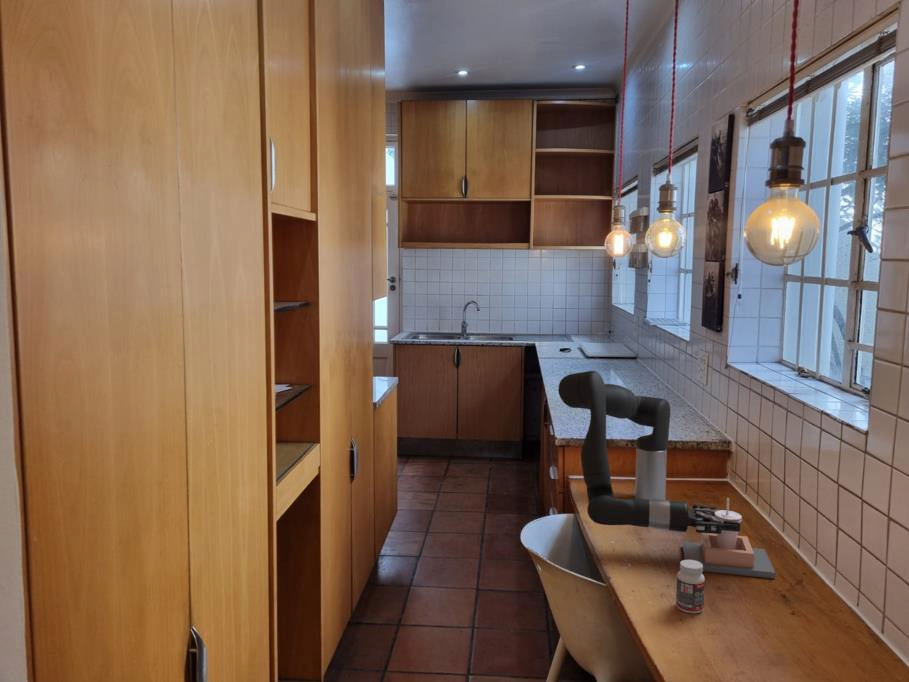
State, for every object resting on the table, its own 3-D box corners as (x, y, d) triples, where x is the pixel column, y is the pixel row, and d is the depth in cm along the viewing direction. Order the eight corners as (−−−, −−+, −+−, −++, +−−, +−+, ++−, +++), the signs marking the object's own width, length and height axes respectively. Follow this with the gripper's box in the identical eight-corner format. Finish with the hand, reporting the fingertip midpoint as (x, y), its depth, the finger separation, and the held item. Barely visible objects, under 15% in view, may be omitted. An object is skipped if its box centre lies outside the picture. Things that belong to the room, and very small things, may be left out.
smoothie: (708, 551, 170) (711, 497, 168) (718, 544, 174) (721, 491, 173) (734, 559, 165) (737, 504, 164) (743, 551, 170) (746, 497, 169)
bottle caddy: (682, 546, 179) (683, 528, 179) (764, 554, 174) (765, 536, 174) (686, 569, 166) (686, 549, 166) (774, 578, 161) (775, 558, 160)
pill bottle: (700, 617, 143) (702, 572, 142) (673, 610, 146) (674, 565, 145) (706, 605, 148) (707, 562, 147) (679, 599, 151) (681, 556, 150)
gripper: (669, 510, 165) (743, 517, 161) (667, 491, 179) (735, 497, 175) (668, 540, 166) (741, 548, 162) (665, 519, 180) (733, 525, 176)
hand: (737, 521), depth 168 cm, fingers closed on smoothie, 6 cm apart
